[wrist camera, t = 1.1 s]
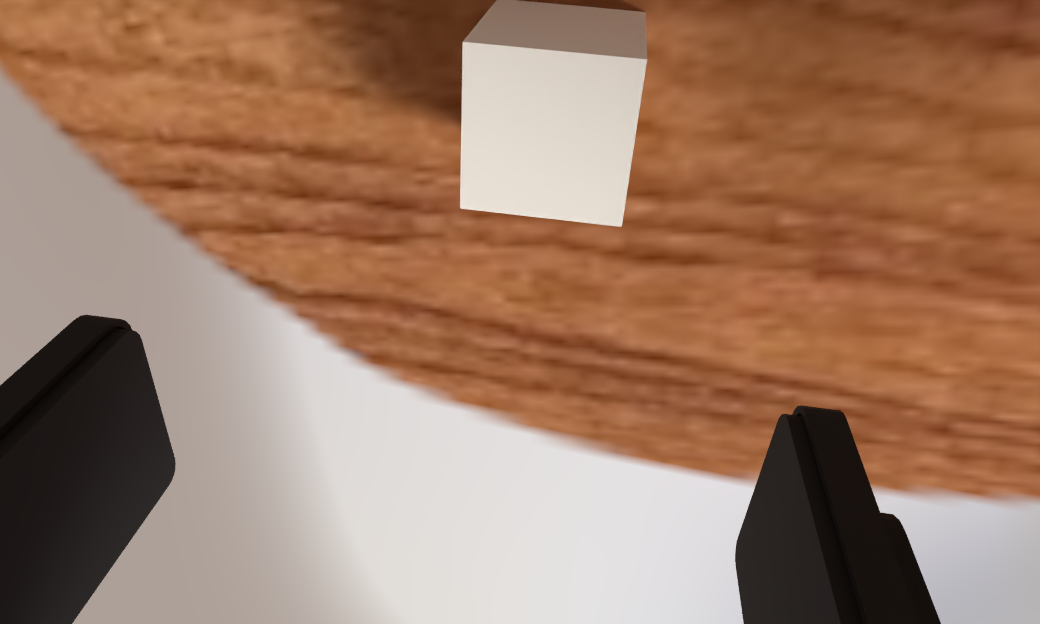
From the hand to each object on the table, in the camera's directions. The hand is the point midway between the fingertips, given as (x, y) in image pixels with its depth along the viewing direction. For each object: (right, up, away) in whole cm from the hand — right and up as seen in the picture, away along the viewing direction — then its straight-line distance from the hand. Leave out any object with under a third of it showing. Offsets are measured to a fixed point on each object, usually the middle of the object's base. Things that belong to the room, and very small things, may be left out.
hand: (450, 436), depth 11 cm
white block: (+3, +10, +15) cm, 19 cm away
